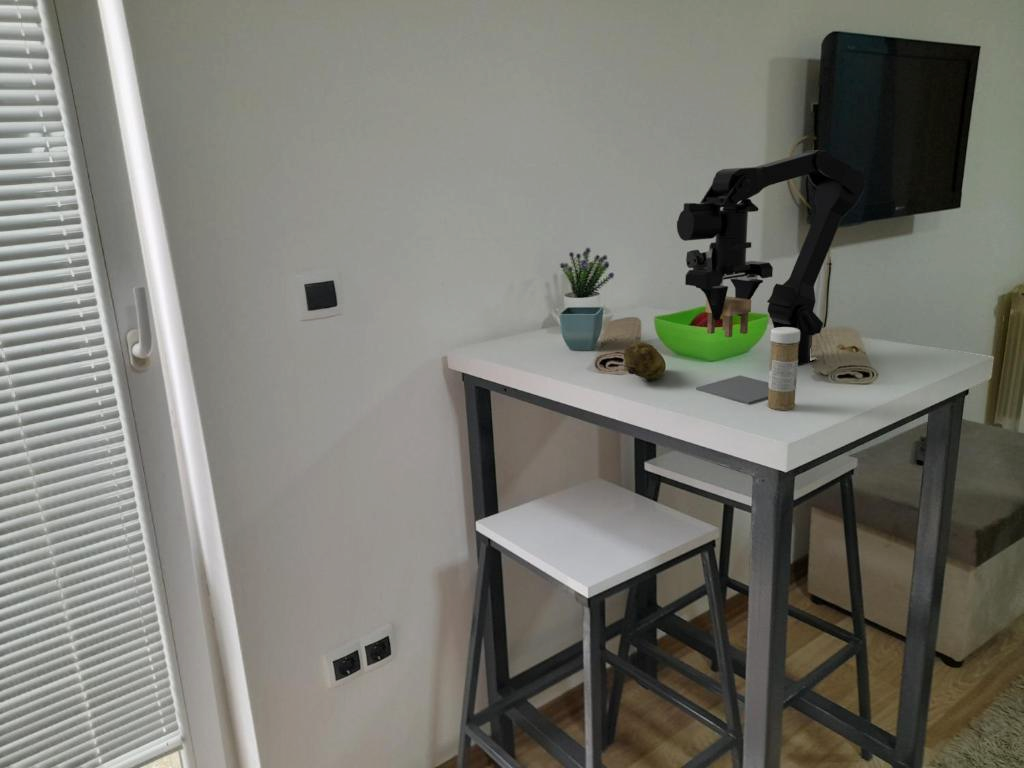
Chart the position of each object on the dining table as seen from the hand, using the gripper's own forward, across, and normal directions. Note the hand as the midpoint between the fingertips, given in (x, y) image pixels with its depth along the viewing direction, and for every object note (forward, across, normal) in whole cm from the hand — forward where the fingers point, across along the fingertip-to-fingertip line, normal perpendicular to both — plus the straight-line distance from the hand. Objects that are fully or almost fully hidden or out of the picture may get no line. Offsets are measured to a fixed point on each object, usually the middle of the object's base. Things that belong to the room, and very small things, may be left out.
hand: (727, 317), depth 145 cm
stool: (+3, 0, 0) cm, 3 cm away
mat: (+11, +8, +11) cm, 17 cm away
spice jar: (+11, +11, +22) cm, 26 cm away
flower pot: (+11, +9, -35) cm, 38 cm away
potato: (+11, +16, -6) cm, 20 cm away
